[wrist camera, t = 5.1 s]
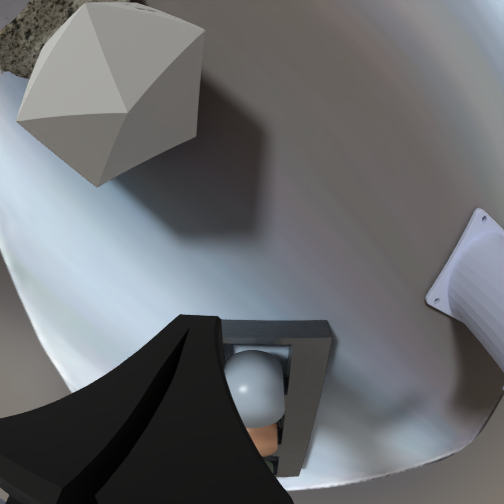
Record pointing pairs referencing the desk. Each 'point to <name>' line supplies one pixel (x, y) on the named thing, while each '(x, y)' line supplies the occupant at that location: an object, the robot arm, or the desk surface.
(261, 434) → the orange rounded block
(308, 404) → the button panel
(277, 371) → the slate button
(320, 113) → the desk surface
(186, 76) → the die
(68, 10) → the rock sample
